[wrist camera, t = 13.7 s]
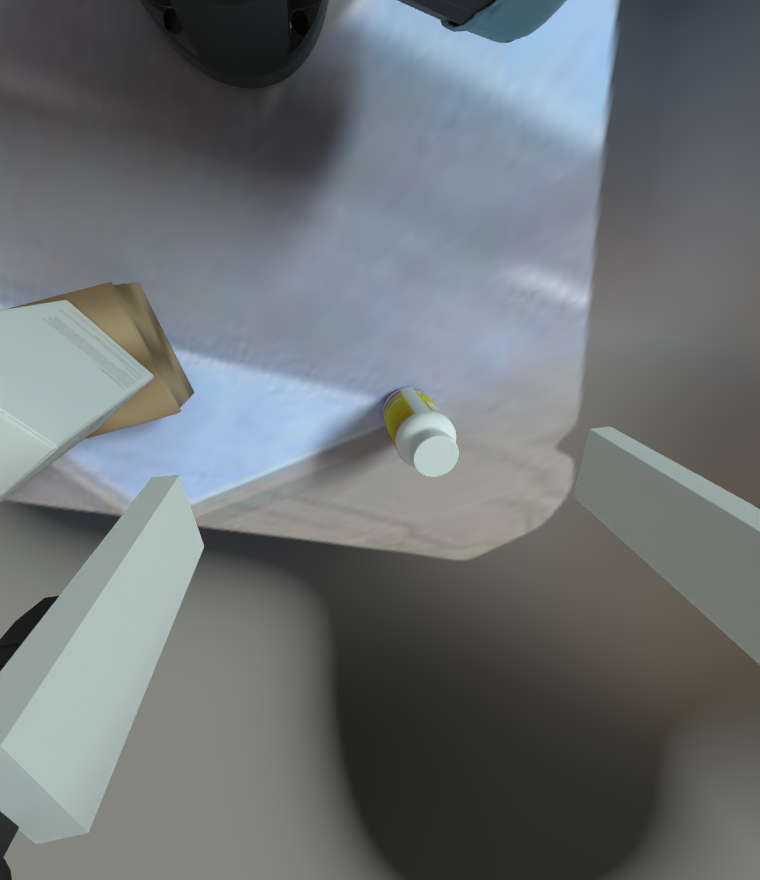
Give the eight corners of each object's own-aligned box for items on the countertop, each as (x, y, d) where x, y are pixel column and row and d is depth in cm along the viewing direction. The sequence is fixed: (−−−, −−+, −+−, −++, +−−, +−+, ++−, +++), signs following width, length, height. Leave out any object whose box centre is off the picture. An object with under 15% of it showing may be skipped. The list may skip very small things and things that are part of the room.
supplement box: (0, 362, 32) (-230, 432, 18) (67, 296, 30) (-129, 322, 17) (95, 432, 36) (-36, 532, 22) (158, 377, 34) (58, 449, 21)
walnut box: (15, 312, 35) (-38, 320, 30) (139, 280, 36) (108, 282, 30) (91, 422, 41) (57, 446, 36) (196, 393, 41) (179, 412, 36)
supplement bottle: (382, 435, 48) (402, 489, 36) (380, 388, 45) (401, 430, 33) (431, 430, 48) (466, 481, 37) (432, 383, 45) (470, 423, 34)
